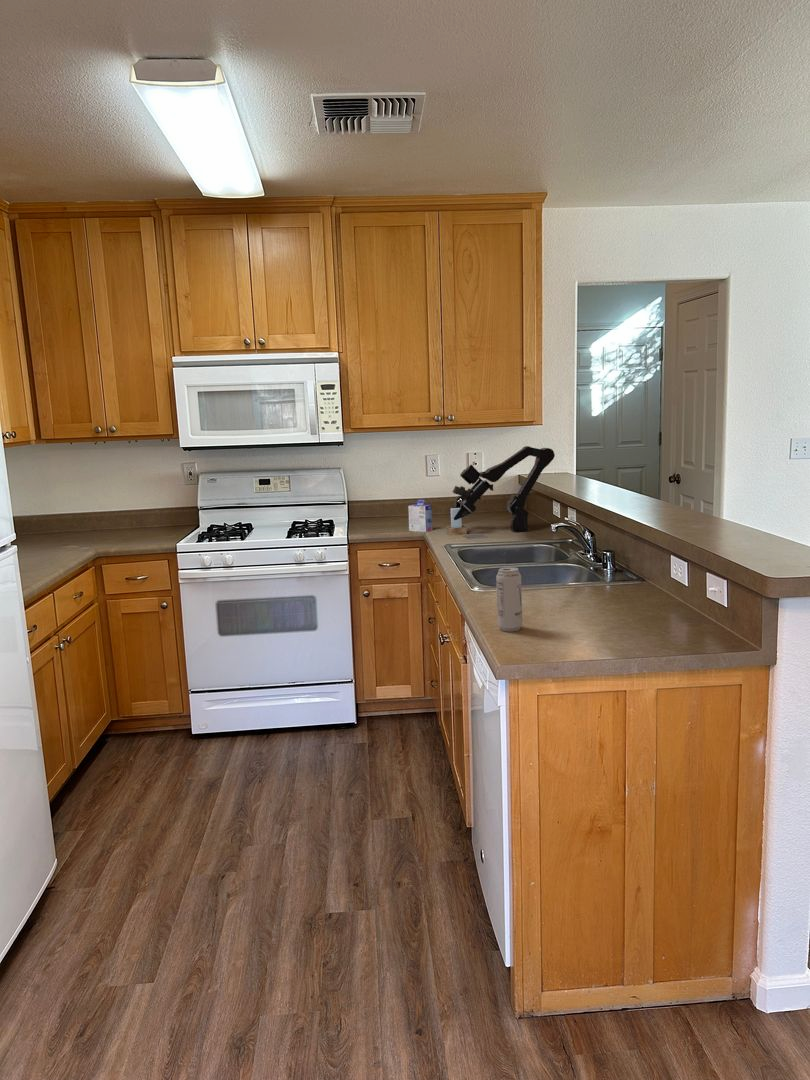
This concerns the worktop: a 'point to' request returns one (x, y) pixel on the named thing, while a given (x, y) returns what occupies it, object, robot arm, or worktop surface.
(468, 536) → the mat
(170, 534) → the worktop surface
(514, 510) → the robot arm
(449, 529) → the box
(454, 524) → the pale blue rectangular block
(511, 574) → the energy drink can
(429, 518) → the ink cartridge box
